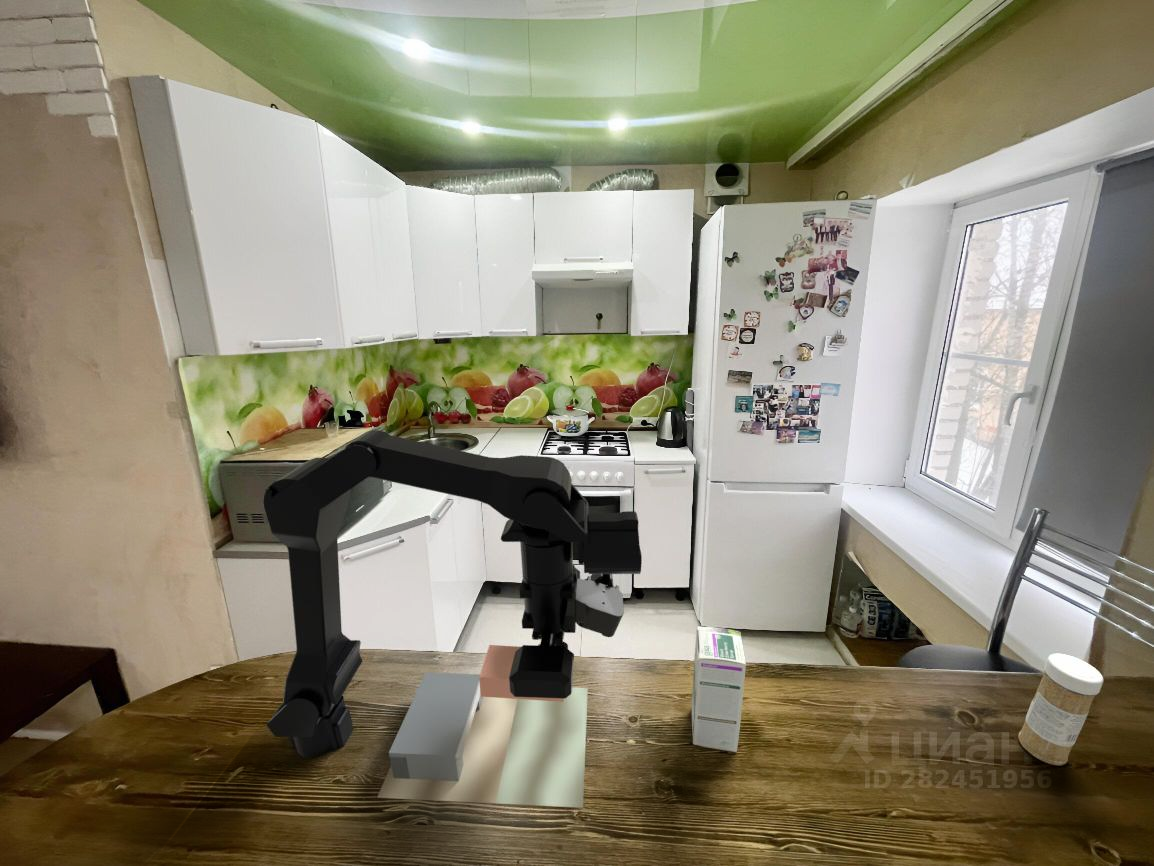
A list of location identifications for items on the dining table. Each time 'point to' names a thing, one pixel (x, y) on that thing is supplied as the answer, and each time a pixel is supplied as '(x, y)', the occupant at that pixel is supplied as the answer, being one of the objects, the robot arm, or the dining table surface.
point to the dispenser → (436, 728)
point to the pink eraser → (500, 674)
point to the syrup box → (717, 688)
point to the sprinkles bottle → (1059, 708)
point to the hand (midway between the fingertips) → (552, 677)
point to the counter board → (514, 756)
